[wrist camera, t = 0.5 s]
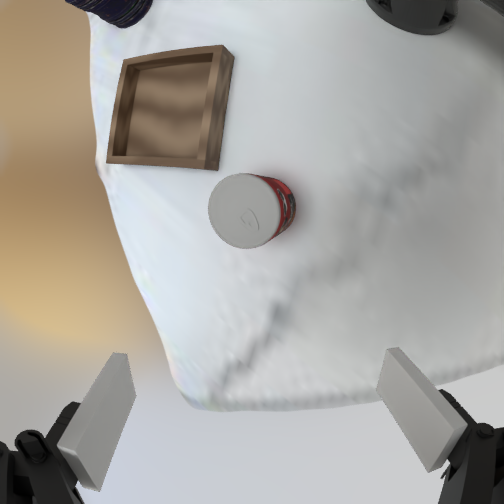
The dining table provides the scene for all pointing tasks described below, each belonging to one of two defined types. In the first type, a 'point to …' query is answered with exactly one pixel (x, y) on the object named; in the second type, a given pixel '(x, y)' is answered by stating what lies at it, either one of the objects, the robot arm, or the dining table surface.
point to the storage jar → (115, 10)
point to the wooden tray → (171, 108)
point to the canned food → (250, 209)
